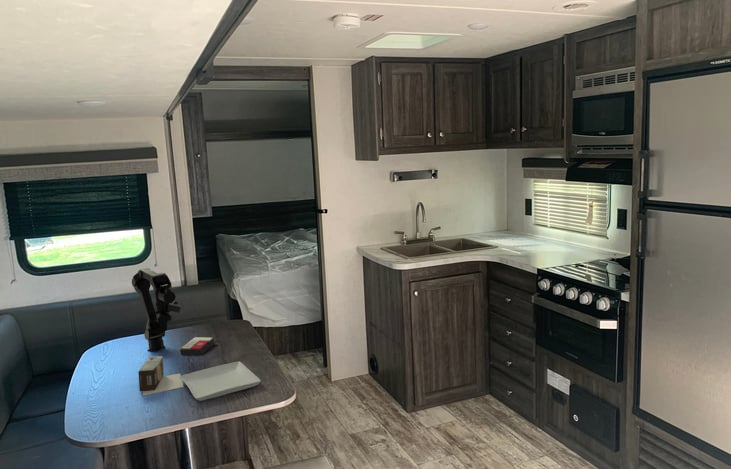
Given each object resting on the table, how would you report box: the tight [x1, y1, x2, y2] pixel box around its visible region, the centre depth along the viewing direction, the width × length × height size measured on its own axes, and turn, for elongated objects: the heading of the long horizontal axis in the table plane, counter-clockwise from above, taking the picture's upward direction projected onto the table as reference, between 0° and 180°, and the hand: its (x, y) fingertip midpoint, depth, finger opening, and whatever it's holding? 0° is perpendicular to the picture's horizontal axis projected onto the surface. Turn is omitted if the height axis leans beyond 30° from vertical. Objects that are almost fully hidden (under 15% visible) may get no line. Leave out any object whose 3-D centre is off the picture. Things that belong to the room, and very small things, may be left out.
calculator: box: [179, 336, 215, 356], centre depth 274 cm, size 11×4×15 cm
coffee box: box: [137, 355, 165, 392], centre depth 234 cm, size 9×6×16 cm
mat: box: [142, 372, 185, 397], centre depth 234 cm, size 16×16×1 cm
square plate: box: [179, 361, 262, 402], centre depth 230 cm, size 27×27×4 cm
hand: (165, 330), depth 265 cm, fingers closed
